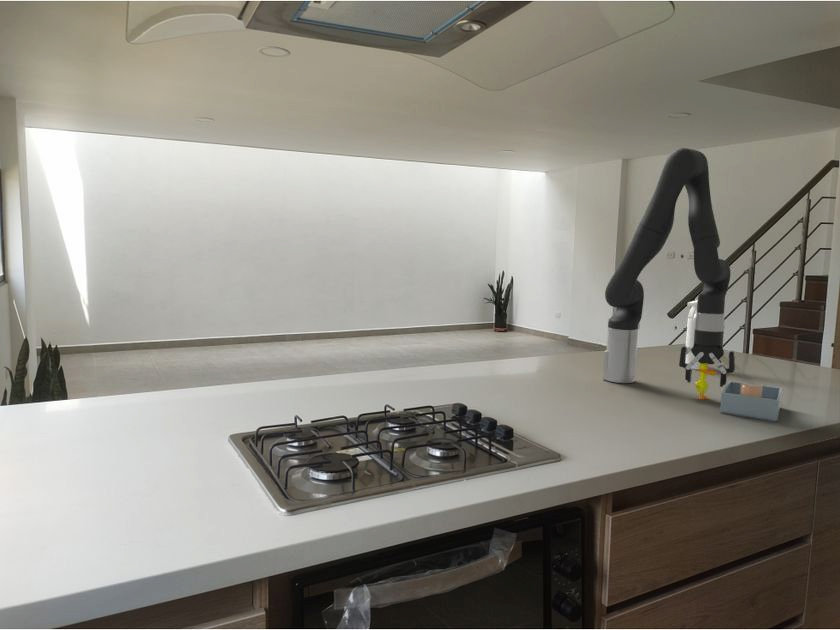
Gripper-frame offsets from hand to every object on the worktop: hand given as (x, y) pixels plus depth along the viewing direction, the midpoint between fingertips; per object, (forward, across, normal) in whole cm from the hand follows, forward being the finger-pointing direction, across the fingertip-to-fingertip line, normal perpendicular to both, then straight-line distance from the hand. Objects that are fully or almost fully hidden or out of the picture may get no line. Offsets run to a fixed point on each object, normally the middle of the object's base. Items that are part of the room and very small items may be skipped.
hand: (705, 384), depth 169 cm
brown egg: (+4, +12, -9) cm, 16 cm away
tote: (+4, +12, -5) cm, 14 cm away
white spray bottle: (+4, -10, +48) cm, 49 cm away
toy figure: (+4, 0, 0) cm, 5 cm away
